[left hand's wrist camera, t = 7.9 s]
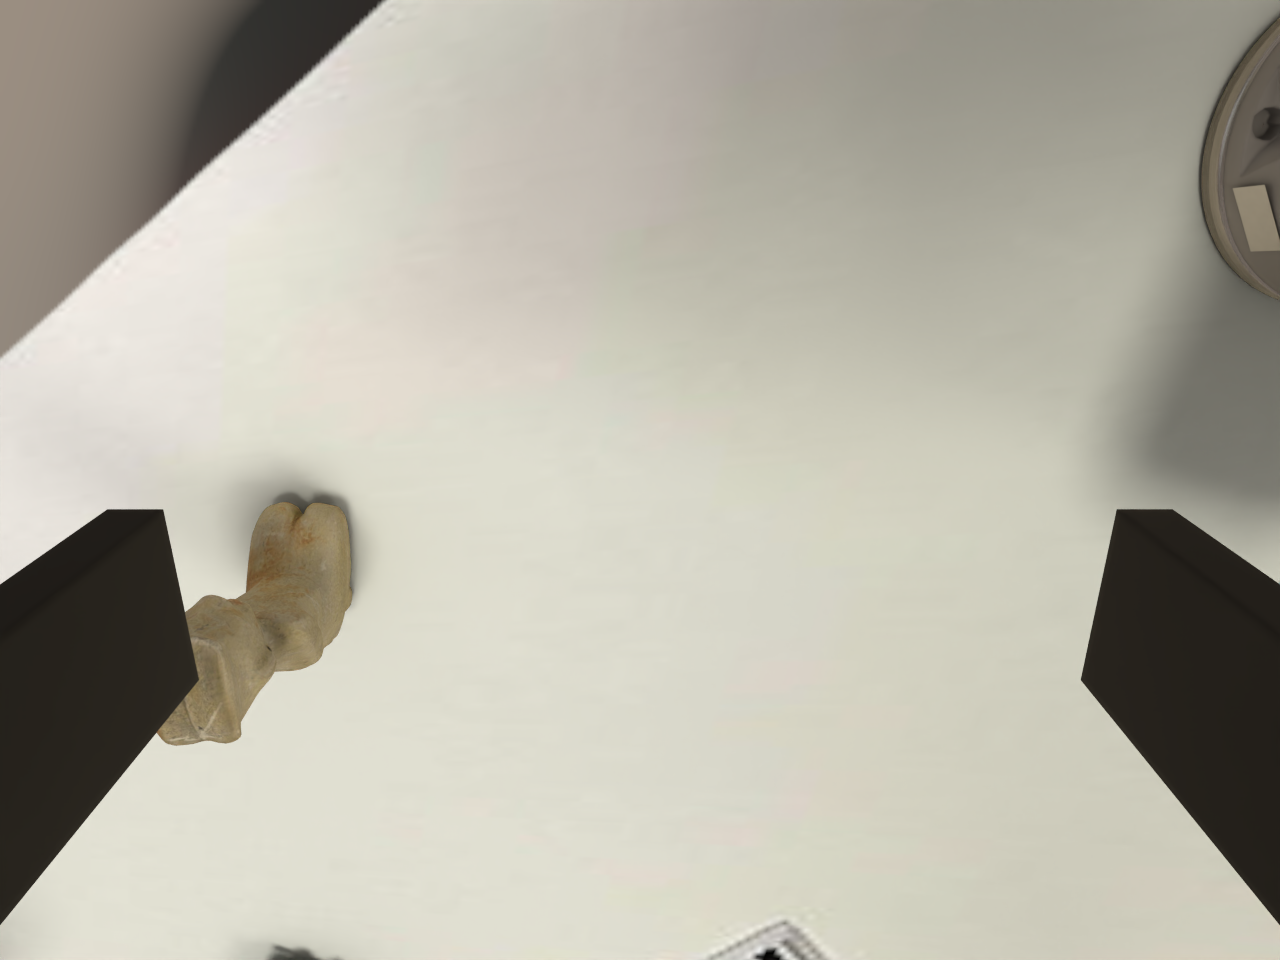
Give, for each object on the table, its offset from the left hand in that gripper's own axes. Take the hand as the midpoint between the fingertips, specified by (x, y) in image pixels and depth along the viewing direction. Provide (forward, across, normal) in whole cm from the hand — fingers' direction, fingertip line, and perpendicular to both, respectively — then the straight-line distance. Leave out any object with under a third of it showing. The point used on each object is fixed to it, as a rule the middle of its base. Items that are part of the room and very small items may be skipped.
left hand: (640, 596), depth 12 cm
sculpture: (+33, -18, -16) cm, 41 cm away
